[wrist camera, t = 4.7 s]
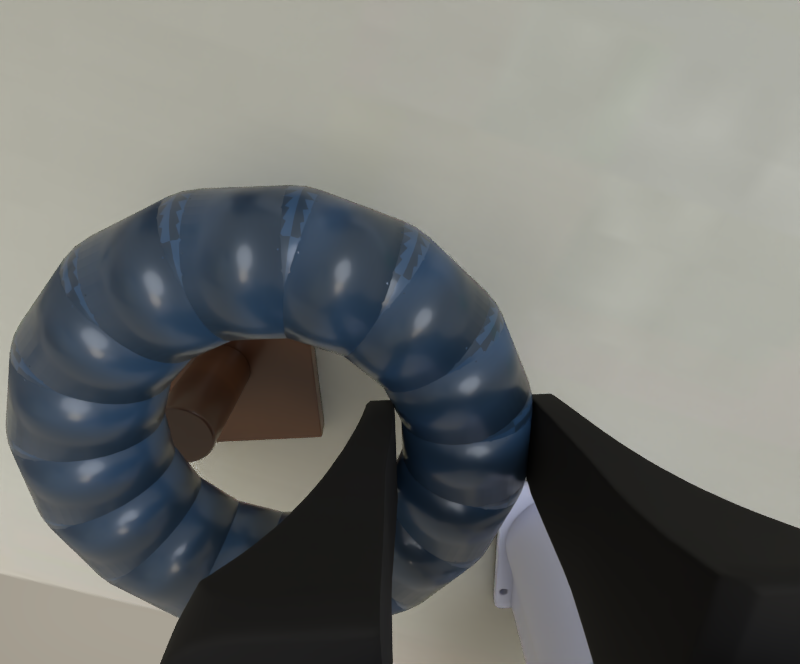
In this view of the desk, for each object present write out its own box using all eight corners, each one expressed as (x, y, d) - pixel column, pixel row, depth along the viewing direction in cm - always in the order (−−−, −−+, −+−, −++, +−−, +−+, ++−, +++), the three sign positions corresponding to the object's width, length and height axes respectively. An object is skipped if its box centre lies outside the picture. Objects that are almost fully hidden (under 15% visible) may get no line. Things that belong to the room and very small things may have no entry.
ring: (500, 553, 16) (525, 649, 13) (131, 570, 16) (75, 671, 13) (529, 168, 11) (580, 186, 8) (-10, 188, 11) (-152, 213, 8)
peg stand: (324, 425, 24) (306, 516, 19) (164, 433, 24) (98, 526, 19) (305, 271, 21) (277, 327, 15) (120, 280, 21) (24, 338, 15)
